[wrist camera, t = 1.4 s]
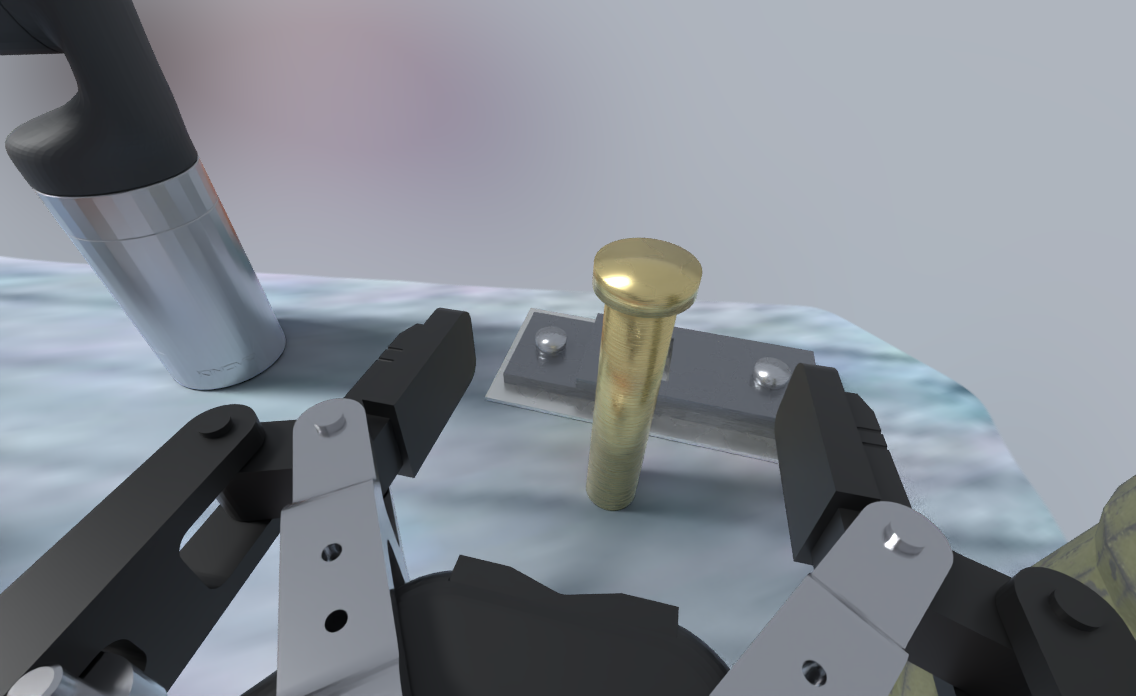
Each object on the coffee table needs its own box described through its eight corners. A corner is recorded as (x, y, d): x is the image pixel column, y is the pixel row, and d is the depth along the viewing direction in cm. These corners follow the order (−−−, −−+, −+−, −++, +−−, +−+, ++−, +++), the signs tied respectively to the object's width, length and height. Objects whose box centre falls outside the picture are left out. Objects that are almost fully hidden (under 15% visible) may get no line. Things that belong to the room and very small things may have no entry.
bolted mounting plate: (485, 400, 41) (481, 368, 38) (531, 310, 50) (530, 280, 48) (831, 474, 36) (853, 444, 34) (810, 361, 46) (825, 331, 43)
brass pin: (563, 479, 35) (573, 254, 23) (616, 449, 38) (652, 228, 25) (604, 533, 32) (641, 309, 20) (659, 497, 34) (725, 274, 22)
